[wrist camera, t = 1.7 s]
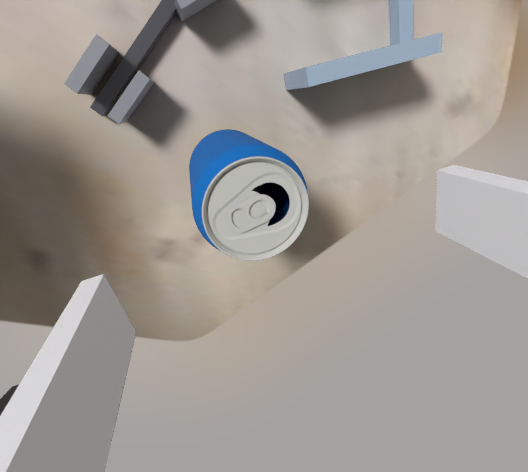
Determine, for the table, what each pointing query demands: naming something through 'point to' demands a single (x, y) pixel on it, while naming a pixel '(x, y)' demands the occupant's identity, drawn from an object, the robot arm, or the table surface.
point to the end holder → (372, 52)
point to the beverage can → (246, 195)
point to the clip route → (126, 63)
